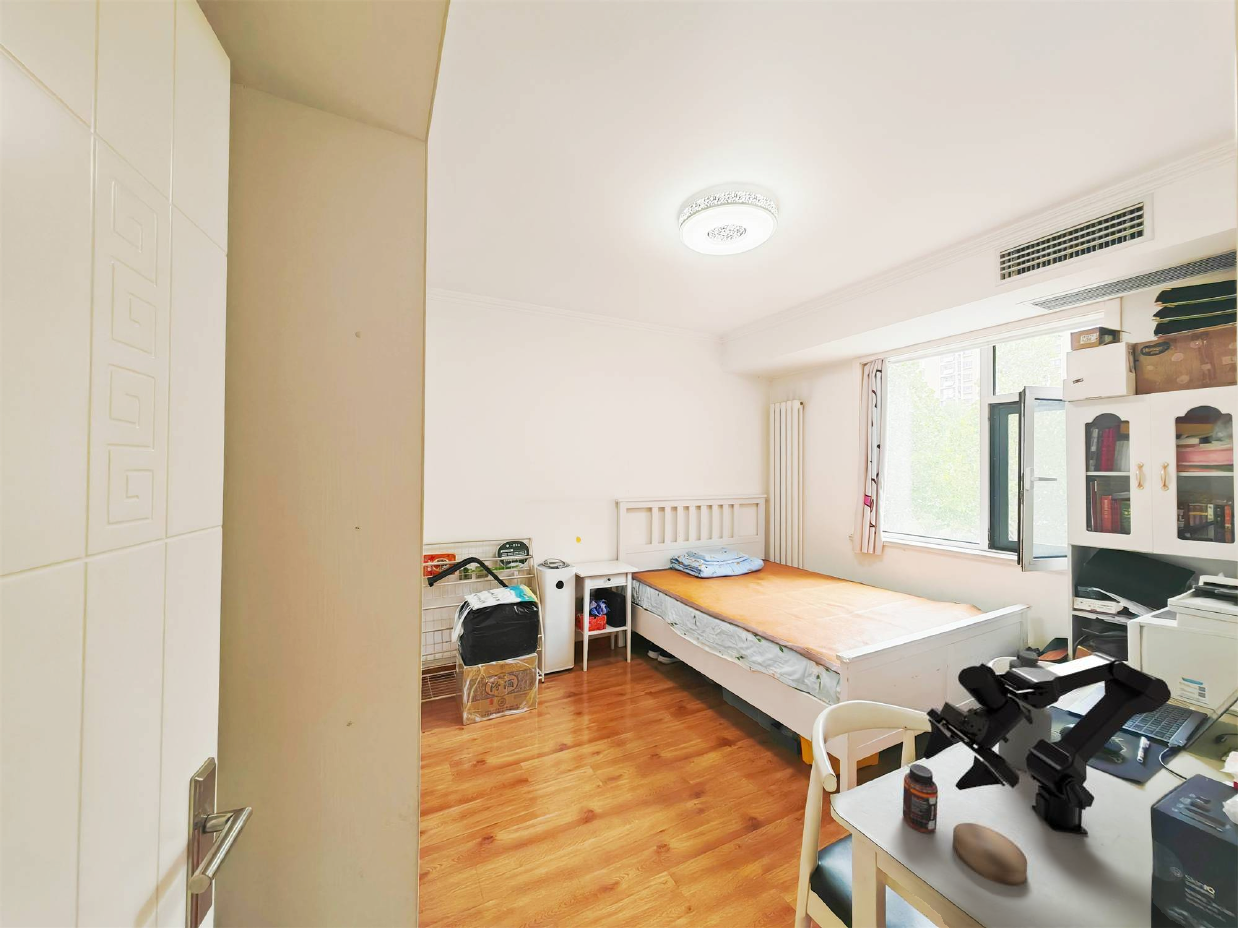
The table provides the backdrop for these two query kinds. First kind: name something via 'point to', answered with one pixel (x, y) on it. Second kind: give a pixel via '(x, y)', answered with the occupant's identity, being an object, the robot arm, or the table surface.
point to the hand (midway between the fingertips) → (940, 771)
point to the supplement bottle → (920, 799)
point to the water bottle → (1023, 732)
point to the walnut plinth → (990, 854)
